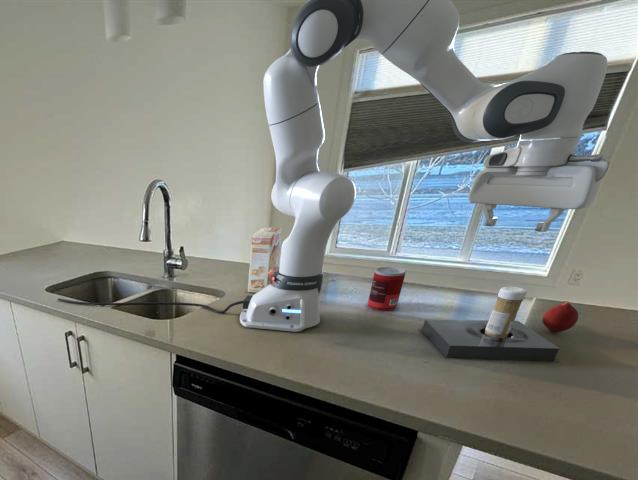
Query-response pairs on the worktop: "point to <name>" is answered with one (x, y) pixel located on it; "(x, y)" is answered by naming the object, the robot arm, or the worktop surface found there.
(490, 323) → the sprinkles bottle
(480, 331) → the dark grey slab holder
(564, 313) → the onion
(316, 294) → the robot arm
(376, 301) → the canned food
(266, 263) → the coffeecake box
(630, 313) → the worktop surface
